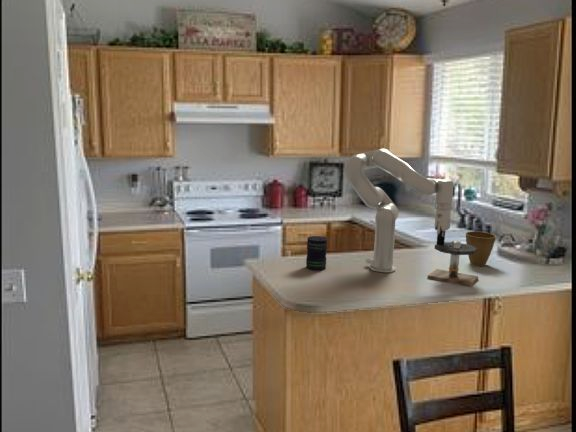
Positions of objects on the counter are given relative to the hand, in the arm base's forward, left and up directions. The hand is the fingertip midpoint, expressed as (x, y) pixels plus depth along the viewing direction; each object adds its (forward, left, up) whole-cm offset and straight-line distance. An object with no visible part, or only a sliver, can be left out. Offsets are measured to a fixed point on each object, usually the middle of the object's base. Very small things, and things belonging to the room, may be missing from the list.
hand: (440, 244), depth 267 cm
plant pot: (+10, +36, -16) cm, 41 cm away
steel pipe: (+7, 0, -14) cm, 16 cm away
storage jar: (-53, -25, -16) cm, 60 cm away
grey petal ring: (+7, 0, -2) cm, 8 cm away
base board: (+7, 0, -16) cm, 17 cm away
